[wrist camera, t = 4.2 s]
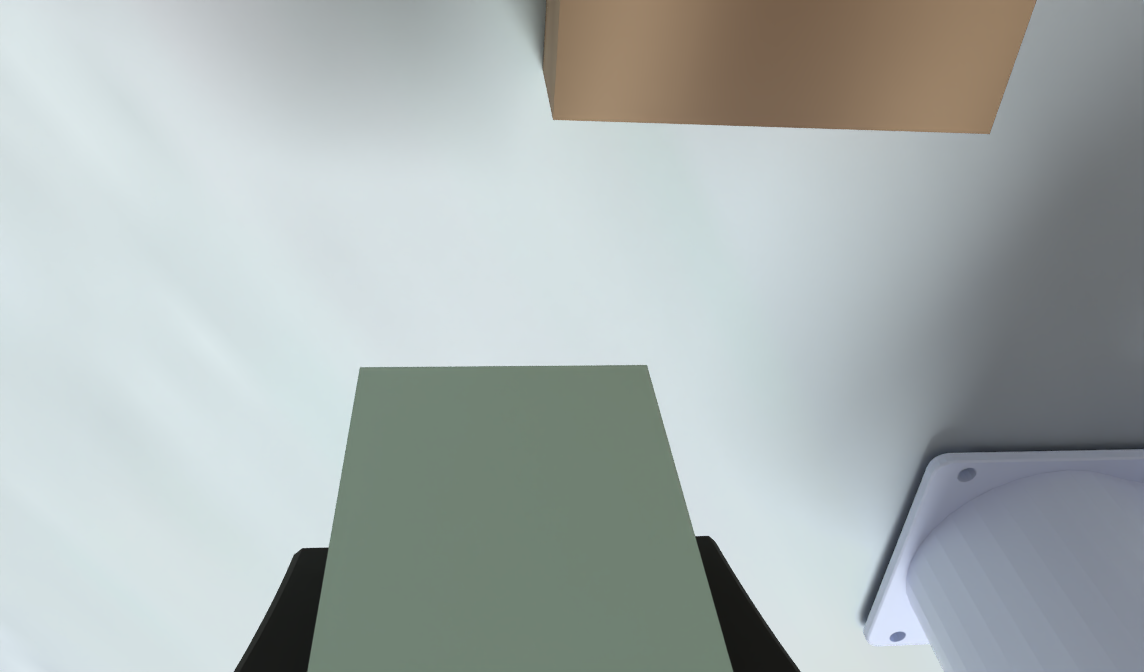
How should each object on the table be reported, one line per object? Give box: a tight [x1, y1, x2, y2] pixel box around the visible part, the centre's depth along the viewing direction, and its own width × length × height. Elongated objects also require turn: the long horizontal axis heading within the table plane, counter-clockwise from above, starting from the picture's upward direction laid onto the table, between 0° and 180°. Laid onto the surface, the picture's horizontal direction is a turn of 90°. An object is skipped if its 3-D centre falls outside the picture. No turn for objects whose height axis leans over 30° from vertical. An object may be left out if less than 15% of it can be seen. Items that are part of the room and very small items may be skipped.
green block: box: [307, 365, 733, 672], centre depth 11 cm, size 4×4×6 cm
